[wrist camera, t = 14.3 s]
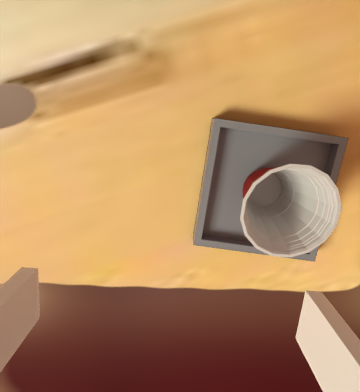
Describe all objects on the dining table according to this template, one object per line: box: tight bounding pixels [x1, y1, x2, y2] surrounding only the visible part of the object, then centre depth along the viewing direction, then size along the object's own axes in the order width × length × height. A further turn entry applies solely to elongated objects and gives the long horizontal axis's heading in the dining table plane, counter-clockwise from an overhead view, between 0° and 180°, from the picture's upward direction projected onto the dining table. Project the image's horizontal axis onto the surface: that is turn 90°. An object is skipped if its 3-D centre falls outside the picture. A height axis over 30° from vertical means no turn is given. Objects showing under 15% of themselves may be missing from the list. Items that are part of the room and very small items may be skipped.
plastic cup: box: [240, 164, 341, 257], centre depth 38 cm, size 11×11×12 cm
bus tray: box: [193, 118, 348, 261], centre depth 43 cm, size 18×18×3 cm
